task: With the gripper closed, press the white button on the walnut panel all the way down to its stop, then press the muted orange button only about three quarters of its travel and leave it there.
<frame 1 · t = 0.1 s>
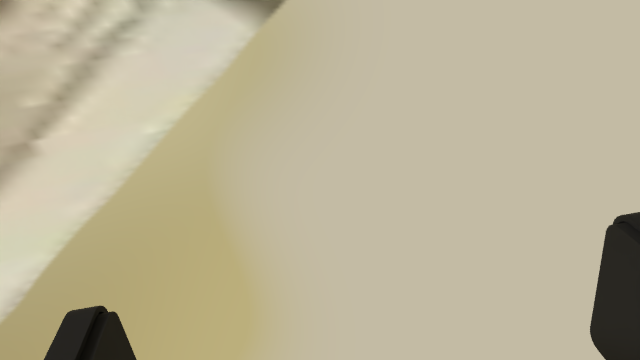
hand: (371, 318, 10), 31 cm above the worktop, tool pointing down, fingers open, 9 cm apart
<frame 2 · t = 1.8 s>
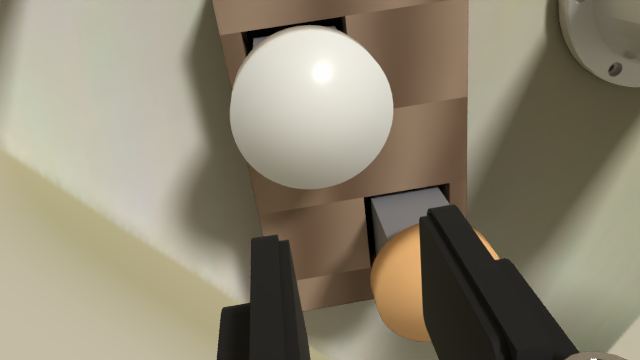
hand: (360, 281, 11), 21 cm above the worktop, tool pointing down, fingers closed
orange button: (421, 252, 27), point 8 cm above the worktop, slide at 0.0 cm
white button: (305, 91, 23), point 8 cm above the worktop, slide at 0.0 cm
button panel: (345, 125, 32), on the worktop
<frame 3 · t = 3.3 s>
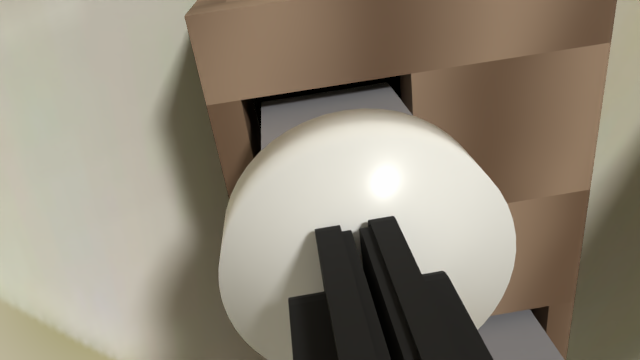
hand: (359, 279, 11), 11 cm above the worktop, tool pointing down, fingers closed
white button: (347, 199, 14), point 7 cm above the worktop, slide at 0.4 cm, touching gripper
button panel: (389, 206, 23), on the worktop
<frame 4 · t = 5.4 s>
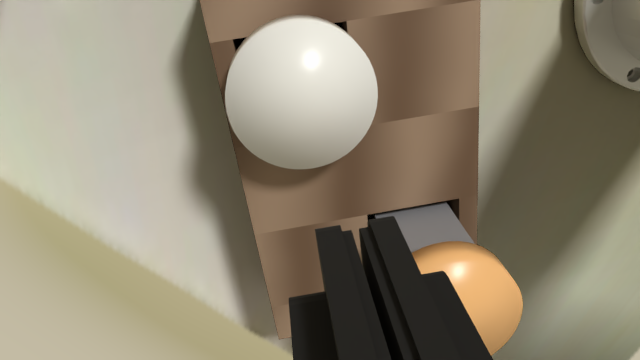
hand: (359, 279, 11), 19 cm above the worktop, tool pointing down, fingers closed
orange button: (430, 274, 26), point 8 cm above the worktop, slide at 0.0 cm
white button: (296, 78, 24), point 4 cm above the worktop, slide at 3.8 cm
button panel: (346, 135, 30), on the worktop
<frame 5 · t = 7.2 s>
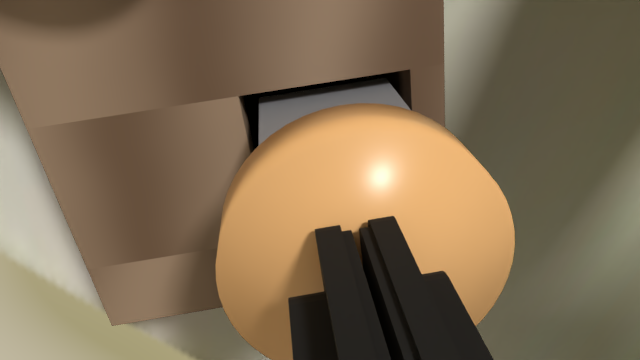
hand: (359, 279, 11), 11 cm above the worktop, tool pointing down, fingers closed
orange button: (345, 195, 14), point 7 cm above the worktop, slide at 0.4 cm, touching gripper
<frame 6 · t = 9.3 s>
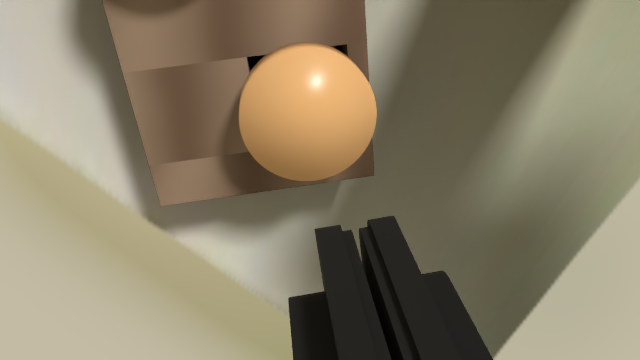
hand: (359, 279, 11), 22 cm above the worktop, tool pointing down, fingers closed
orange button: (302, 97, 26), point 5 cm above the worktop, slide at 2.9 cm
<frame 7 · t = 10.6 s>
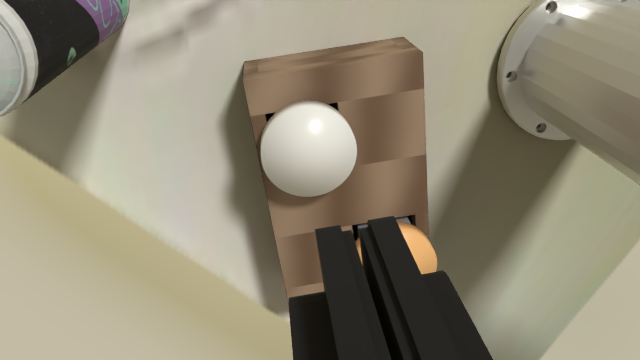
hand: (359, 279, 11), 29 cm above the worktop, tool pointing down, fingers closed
orange button: (385, 244, 40), point 5 cm above the worktop, slide at 2.9 cm
white button: (305, 135, 36), point 4 cm above the worktop, slide at 3.8 cm
button panel: (339, 168, 42), on the worktop
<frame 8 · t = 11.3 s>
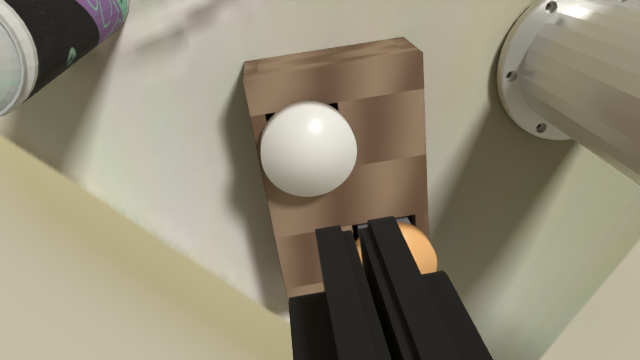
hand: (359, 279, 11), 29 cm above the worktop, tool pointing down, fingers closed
orange button: (385, 244, 40), point 5 cm above the worktop, slide at 2.9 cm
white button: (305, 135, 36), point 4 cm above the worktop, slide at 3.8 cm
button panel: (339, 168, 42), on the worktop
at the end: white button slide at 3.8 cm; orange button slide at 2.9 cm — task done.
